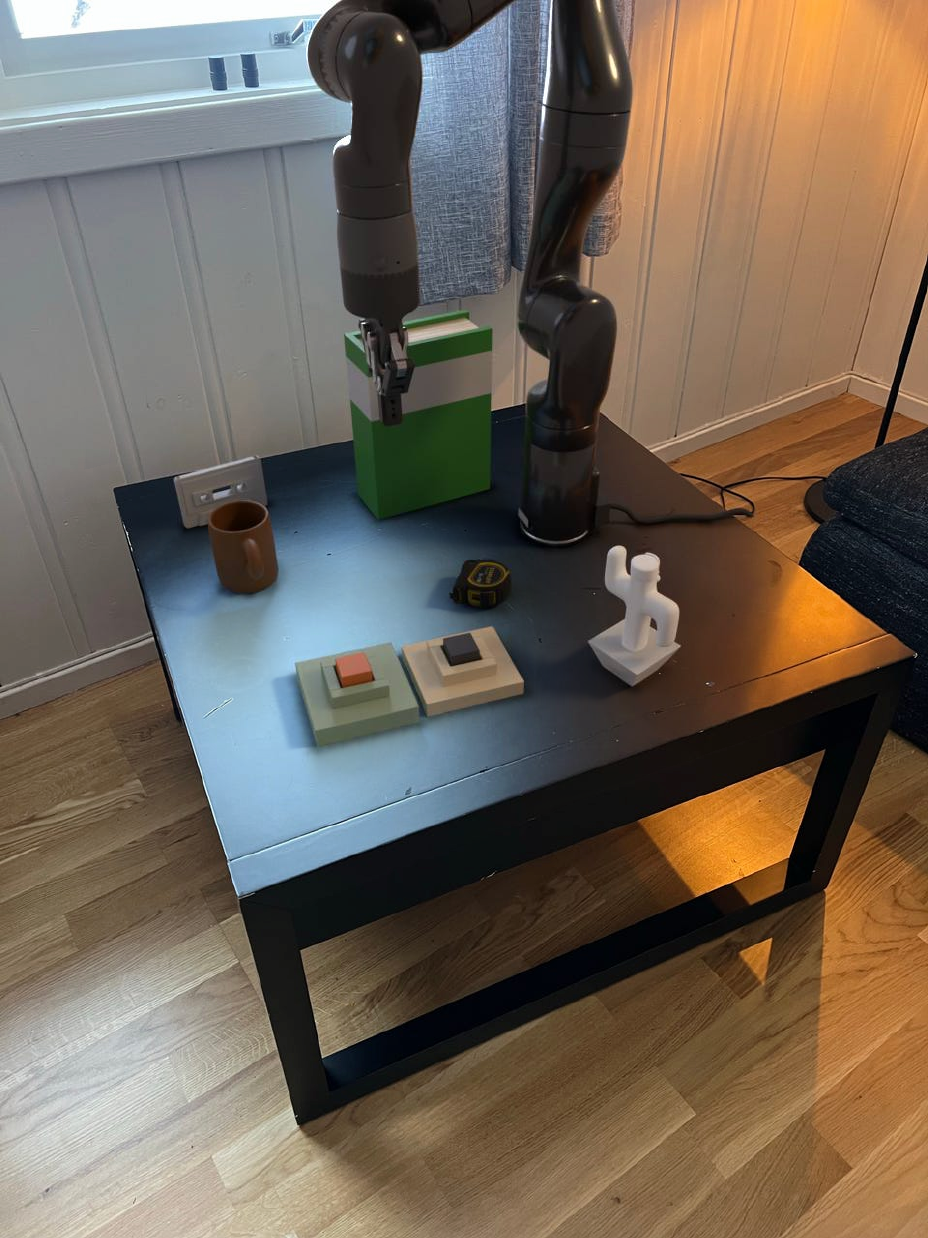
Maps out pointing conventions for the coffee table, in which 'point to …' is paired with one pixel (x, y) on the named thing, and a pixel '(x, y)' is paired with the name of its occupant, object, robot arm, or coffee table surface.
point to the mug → (243, 546)
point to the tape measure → (482, 583)
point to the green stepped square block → (356, 696)
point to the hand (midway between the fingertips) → (391, 422)
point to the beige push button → (461, 673)
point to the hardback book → (425, 418)
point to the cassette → (217, 477)
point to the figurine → (637, 619)
